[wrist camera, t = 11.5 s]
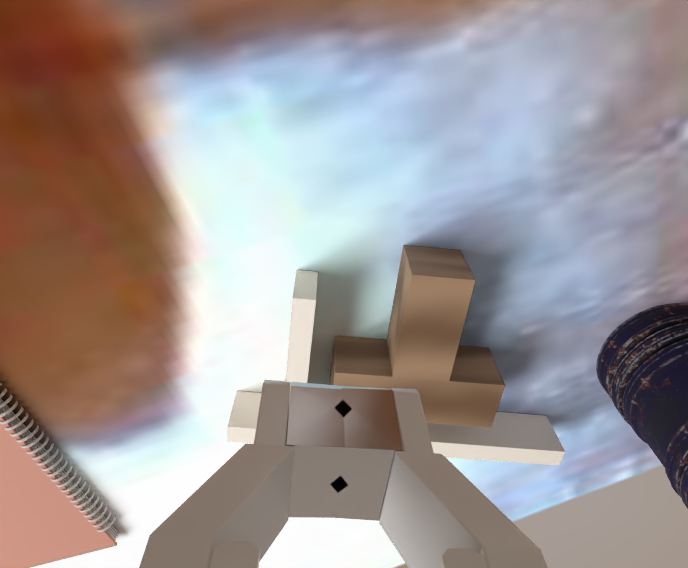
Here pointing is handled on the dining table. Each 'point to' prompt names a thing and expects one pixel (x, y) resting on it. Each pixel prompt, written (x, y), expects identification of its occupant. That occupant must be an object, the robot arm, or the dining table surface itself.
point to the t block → (427, 344)
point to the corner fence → (449, 440)
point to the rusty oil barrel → (653, 383)
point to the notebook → (43, 501)
